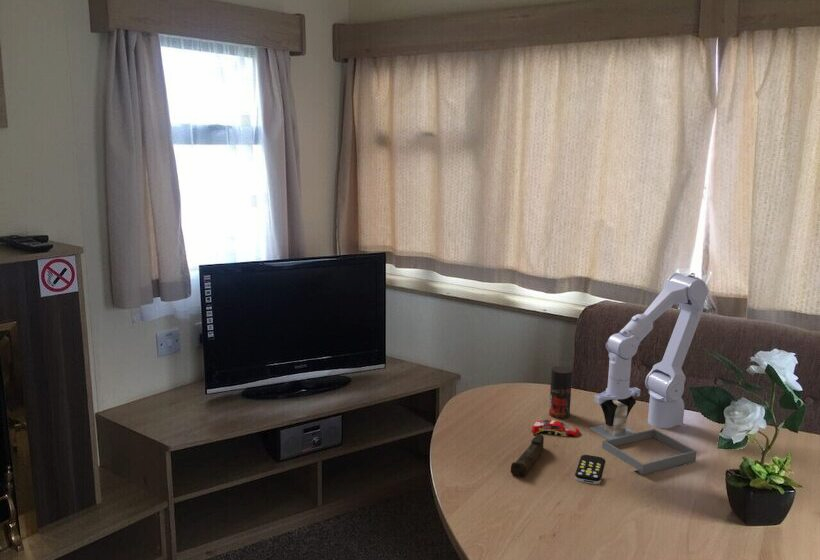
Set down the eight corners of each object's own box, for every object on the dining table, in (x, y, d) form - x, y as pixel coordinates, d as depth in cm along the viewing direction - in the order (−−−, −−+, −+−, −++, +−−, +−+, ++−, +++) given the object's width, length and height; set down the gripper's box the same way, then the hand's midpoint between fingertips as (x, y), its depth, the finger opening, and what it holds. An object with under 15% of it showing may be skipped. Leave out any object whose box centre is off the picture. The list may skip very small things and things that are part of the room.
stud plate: (616, 424, 211) (617, 412, 210) (641, 438, 202) (642, 426, 201) (588, 431, 206) (589, 418, 206) (612, 445, 198) (613, 432, 197)
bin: (653, 438, 202) (654, 428, 201) (695, 461, 189) (696, 451, 188) (601, 451, 194) (602, 440, 194) (642, 476, 181) (642, 464, 180)
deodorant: (544, 415, 217) (547, 367, 213) (561, 412, 219) (564, 365, 216) (556, 423, 211) (559, 374, 208) (573, 420, 214) (576, 371, 210)
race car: (580, 434, 205) (581, 421, 204) (579, 442, 200) (580, 429, 199) (532, 428, 208) (533, 415, 207) (530, 436, 203) (531, 423, 202)
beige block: (615, 427, 207) (617, 400, 205) (625, 433, 203) (627, 406, 201) (604, 430, 205) (606, 403, 203) (614, 435, 201) (616, 408, 200)
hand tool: (524, 480, 179) (526, 462, 178) (509, 476, 181) (510, 458, 180) (551, 450, 195) (552, 434, 194) (537, 447, 197) (538, 431, 196)
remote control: (605, 463, 188) (606, 456, 188) (599, 486, 177) (600, 479, 176) (581, 459, 190) (581, 452, 190) (573, 481, 179) (574, 474, 178)
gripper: (629, 369, 207) (625, 413, 210) (588, 376, 201) (585, 422, 204) (647, 377, 201) (643, 423, 204) (605, 384, 195) (602, 432, 198)
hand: (615, 423), depth 203 cm, fingers closed on beige block, 4 cm apart
